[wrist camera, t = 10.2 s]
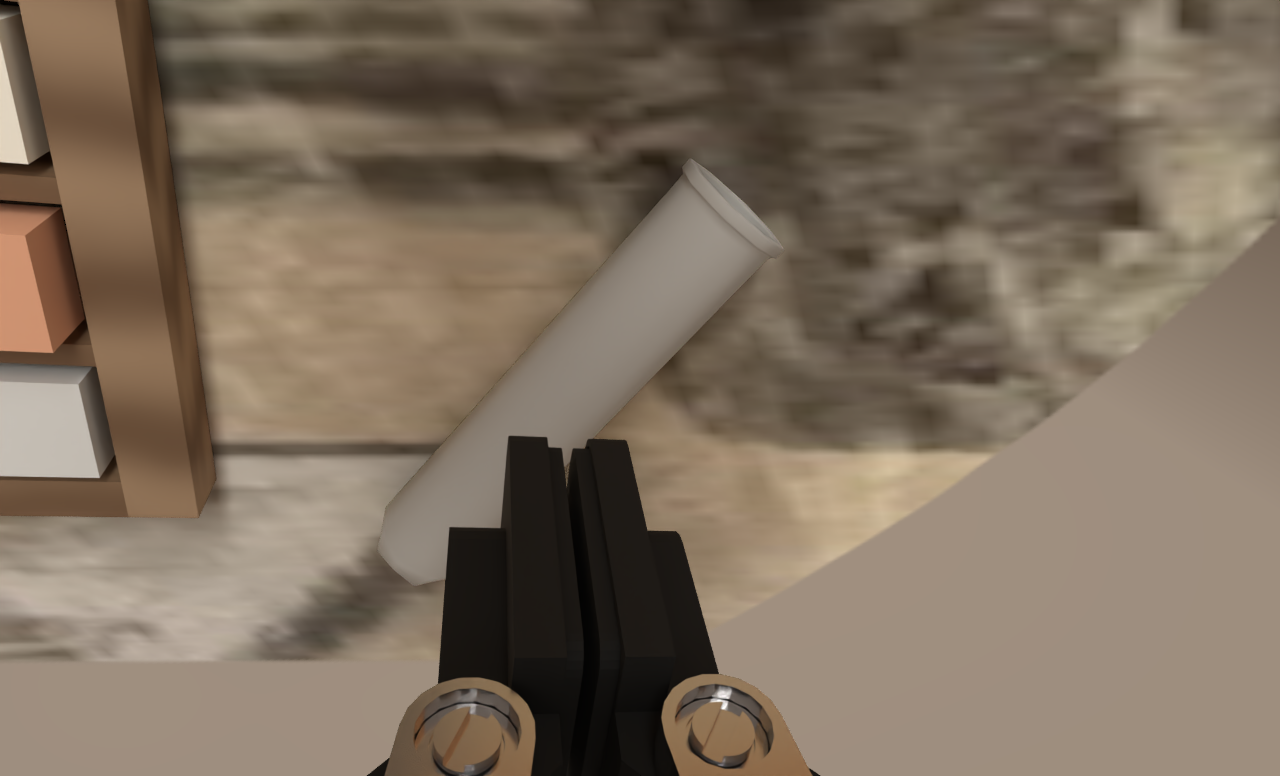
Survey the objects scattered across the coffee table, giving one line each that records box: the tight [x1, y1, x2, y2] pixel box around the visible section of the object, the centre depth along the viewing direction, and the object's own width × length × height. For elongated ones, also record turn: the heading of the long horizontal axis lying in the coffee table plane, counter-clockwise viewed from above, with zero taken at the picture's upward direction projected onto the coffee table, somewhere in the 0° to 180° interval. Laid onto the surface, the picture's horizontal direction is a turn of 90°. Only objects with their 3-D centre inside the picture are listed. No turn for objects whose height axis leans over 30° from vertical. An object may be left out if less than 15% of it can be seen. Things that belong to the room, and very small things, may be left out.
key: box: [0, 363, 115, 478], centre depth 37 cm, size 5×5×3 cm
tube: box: [377, 159, 784, 586], centre depth 40 cm, size 5×5×25 cm
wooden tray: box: [0, 0, 216, 518], centre depth 34 cm, size 24×12×3 cm, turn 172°
